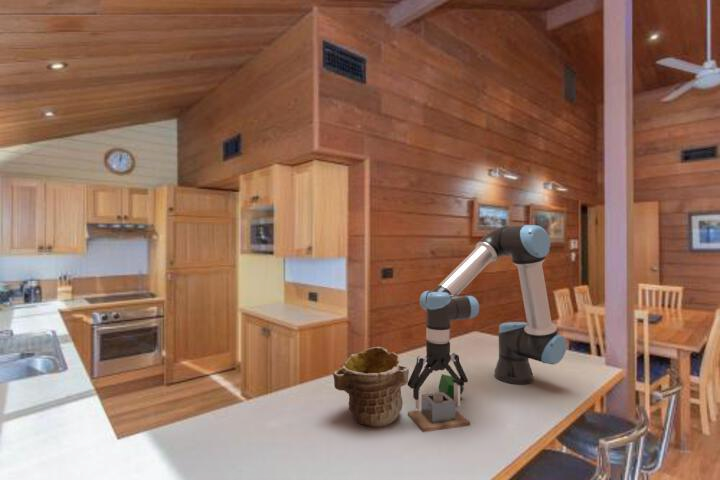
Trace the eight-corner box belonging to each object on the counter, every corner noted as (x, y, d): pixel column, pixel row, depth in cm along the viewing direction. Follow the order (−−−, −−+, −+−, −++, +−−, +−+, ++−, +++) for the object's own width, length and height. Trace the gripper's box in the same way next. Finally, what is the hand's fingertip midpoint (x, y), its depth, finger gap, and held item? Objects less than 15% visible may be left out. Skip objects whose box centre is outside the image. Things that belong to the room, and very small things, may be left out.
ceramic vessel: (365, 422, 106) (339, 338, 120) (337, 446, 123) (317, 369, 137) (431, 404, 117) (401, 328, 131) (397, 428, 134) (373, 359, 148)
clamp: (457, 410, 143) (465, 392, 140) (441, 406, 143) (449, 388, 139) (452, 386, 154) (460, 369, 151) (438, 383, 154) (445, 365, 150)
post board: (451, 409, 134) (451, 385, 134) (470, 425, 123) (470, 399, 123) (407, 414, 130) (407, 390, 130) (423, 431, 118) (423, 405, 118)
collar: (443, 410, 131) (443, 392, 131) (455, 420, 124) (455, 401, 124) (421, 412, 129) (421, 394, 129) (432, 423, 121) (432, 404, 121)
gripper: (466, 335, 133) (466, 397, 133) (397, 340, 126) (397, 406, 127) (478, 341, 126) (478, 406, 126) (406, 346, 119) (406, 416, 119)
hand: (438, 406), depth 126 cm, fingers open, 13 cm apart
